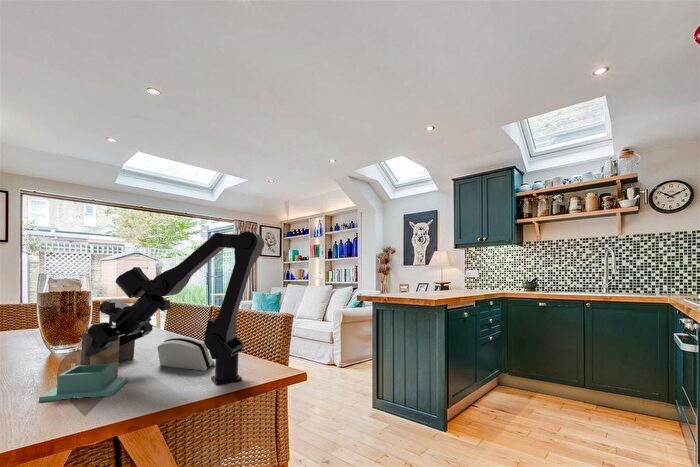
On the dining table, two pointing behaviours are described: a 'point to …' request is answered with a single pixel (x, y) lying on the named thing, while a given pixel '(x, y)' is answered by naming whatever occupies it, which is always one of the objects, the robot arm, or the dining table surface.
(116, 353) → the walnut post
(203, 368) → the grey curved block
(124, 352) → the dark brown wooden block
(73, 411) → the dining table surface
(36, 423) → the dining table surface
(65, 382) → the well
